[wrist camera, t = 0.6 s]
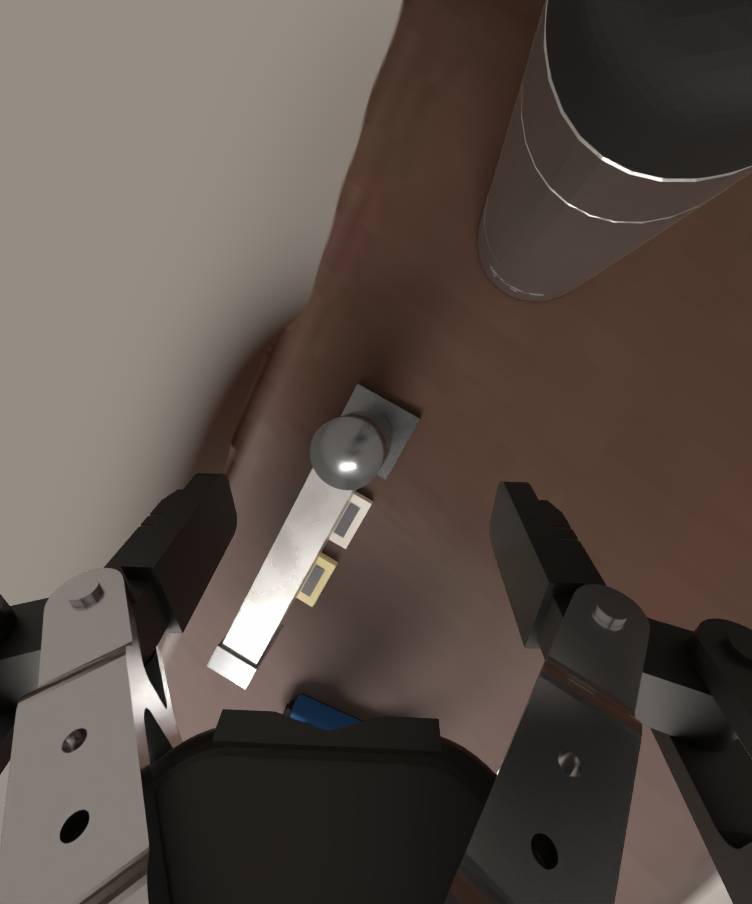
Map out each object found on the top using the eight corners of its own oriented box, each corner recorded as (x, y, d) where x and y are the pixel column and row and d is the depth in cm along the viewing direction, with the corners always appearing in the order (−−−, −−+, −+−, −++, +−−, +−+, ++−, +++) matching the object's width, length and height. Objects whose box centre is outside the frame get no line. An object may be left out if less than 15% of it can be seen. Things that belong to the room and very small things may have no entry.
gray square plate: (358, 383, 31) (344, 384, 26) (420, 418, 31) (418, 425, 26) (327, 444, 32) (308, 455, 28) (386, 477, 32) (378, 495, 27)
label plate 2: (334, 479, 33) (331, 481, 32) (373, 501, 33) (371, 504, 32) (310, 523, 34) (307, 527, 33) (347, 545, 34) (345, 549, 33)
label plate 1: (301, 540, 35) (297, 544, 34) (338, 562, 34) (335, 566, 34) (279, 581, 36) (275, 586, 35) (314, 602, 36) (312, 607, 35)
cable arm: (348, 399, 26) (329, 403, 21) (402, 430, 26) (395, 440, 21) (235, 619, 31) (199, 662, 26) (280, 646, 31) (252, 693, 26)
